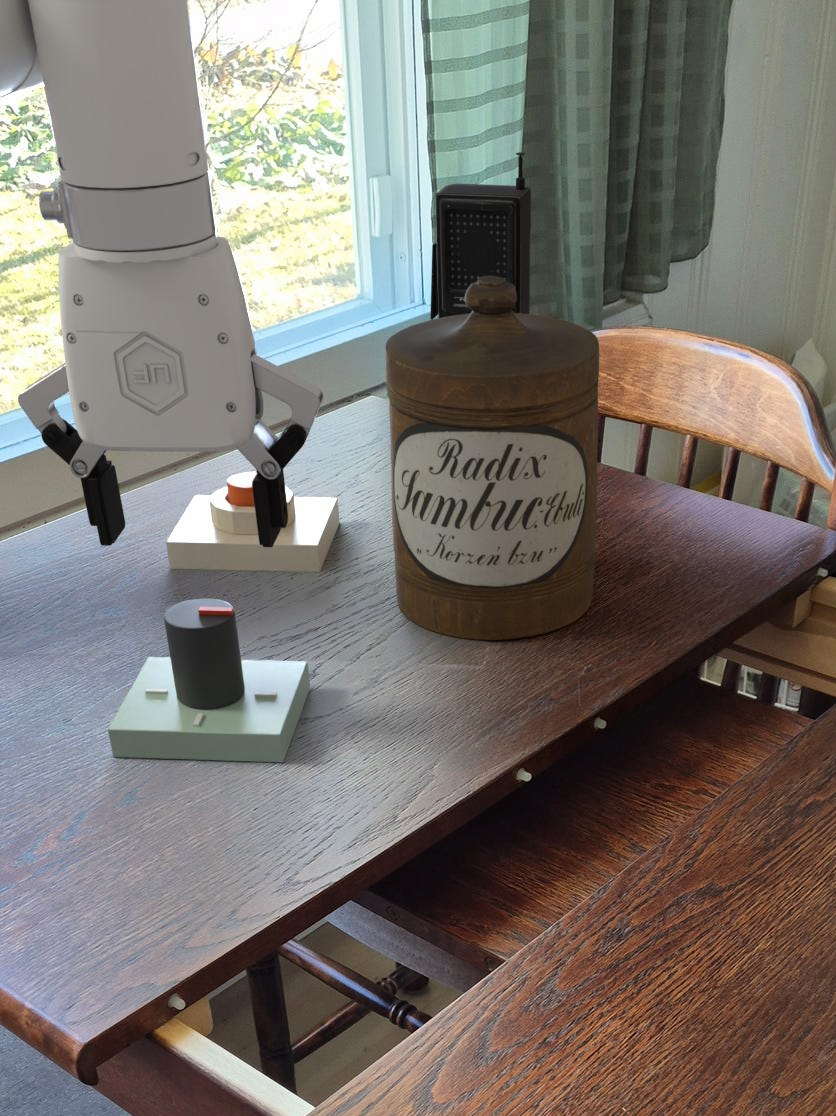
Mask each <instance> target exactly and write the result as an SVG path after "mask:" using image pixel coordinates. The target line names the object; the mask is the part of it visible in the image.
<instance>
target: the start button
mask: <svg viewBox="0 0 836 1116" xmlns="http://www.w3.org/2000/svg"><path fill="white" fill-rule="evenodd" d="M256 474H257V471H252V470H251V471H242V472H238V473H235V474H232V475H230V476H229V477H228V478H227V479H226V486H227V488H228V496H229V503H230V504H232V505H235V506H239V507H255V505H254V497H253V489H252V481H253V479H254V477H255V476H256Z"/></svg>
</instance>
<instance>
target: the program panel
mask: <svg viewBox="0 0 836 1116" xmlns="http://www.w3.org/2000/svg"><path fill="white" fill-rule="evenodd" d="M241 663H242V671H243V678H244V686H245V692H244V695H243V696H242V697H241V698H240V699H239V700H238V701H236V702H235V703H233V704H230V705H228V706H224V707H220V708H214V709H197V708H192V707H188V706H186V705H184V704H182V703H181V702H180V701H179V700H178V698H177V695H176V689H175V683H174V677H173V671H172V665H171V658H170V657H155V656H148V657H147V658H146V660H145V662H144V663H143V665H142V667H141V669H140V670H139V673H138V674H137V676H136V678H135V680H134V681H133V683H132V684H131V687H130V688H129V690H128V692H127V694H126V696H125V698H124V700H123V701H122V703H121V705H120V706H119V708H118V710H117V712H116V714H115V716H114V717H113V719H112V721H111V722H110V724H109V726H108V728H107V733H108V739H109V744H110V749H111V753H112V757H114V758H129V759H131V758H133V759H159V760H160V759H162V760H163V759H165V760H192V761H193V760H195V761H223V762H224V761H225V762H226V761H227V762H254V763H255V762H258V763H284V761H285V758H286V756H287V753H288V750H289V747H290V744H291V742H292V739H293V738H294V734H295V731H296V728H297V725H298V723H299V720H300V717H301V715H302V712H303V709H304V706H305V704H306V700H307V698H308V696H309V692H310V690H311V682H310V681H311V680H310V671H309V662H308V661H302V660H301V661H298V660H267V659H266V660H265V659H259V660H258V659H241Z"/></svg>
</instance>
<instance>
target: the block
mask: <svg viewBox="0 0 836 1116" xmlns="http://www.w3.org/2000/svg"><path fill="white" fill-rule="evenodd" d="M285 491H286V500H287V509H288V523H287V526H286V527H285V528H281V529H280V532H279V534H278V537H277V539H276V541H275V543H274V545H273V547H263V545H260V544H259V537H258V529H257V521H256V513H255V507H239V506H235V505H232V504H230V503H229V496H228V488H227V485H226V486H224V487H222V488H220V489H217V490H215V491H214V492H213V493H212V494H194V496H193V498H192V499H191V500H190V503H189V504H188V506H187V508H186V509H185V511H184V513H183V514H182V515H181V517H180V519H179V520H178V522H177V523H176V525H175V527H174V528H173V530H172V532H171V533H170V535H169V537H168V538H167V540H166V541H165V545H166V546H165V547H166V552H167V559H168V564H169V569H170V570H206V571H207V570H211V571H213V570H214V571H250V572H252V571H253V572H257V571H258V572H293V573H295V572H298V573H299V572H300V573H321V571H322V568H323V566H324V563H325V560H326V559H327V556H328V553H329V551H330V548H331V546H332V544H333V541H334V538H335V536H336V533H337V530H338V528H339V526H340V523H341V522H340V512H339V511H340V510H339V499H338V497H323V496H322V497H320V496H319V497H318V496H317V497H316V496H308V497H307V496H295V493H294V492H293V491H292V490H291V489H290V488H289V487H288V486H286V485H285Z"/></svg>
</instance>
